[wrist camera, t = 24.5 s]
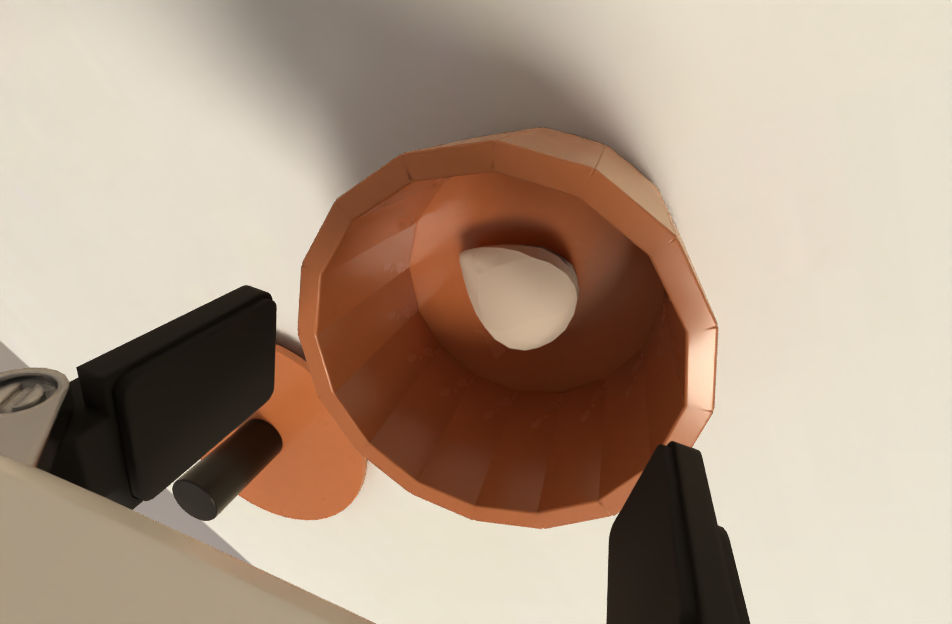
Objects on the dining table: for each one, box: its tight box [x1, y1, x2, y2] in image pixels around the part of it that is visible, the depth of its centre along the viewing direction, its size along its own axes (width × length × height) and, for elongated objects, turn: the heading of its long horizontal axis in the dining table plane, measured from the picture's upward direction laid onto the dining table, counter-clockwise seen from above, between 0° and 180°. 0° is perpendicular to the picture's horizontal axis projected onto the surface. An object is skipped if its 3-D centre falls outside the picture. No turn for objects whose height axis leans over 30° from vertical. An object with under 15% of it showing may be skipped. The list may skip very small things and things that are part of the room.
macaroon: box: [459, 244, 579, 350], centre depth 18 cm, size 4×5×2 cm
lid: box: [172, 344, 367, 521], centre depth 25 cm, size 13×13×6 cm
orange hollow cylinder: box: [298, 127, 718, 529], centre depth 16 cm, size 12×12×8 cm
